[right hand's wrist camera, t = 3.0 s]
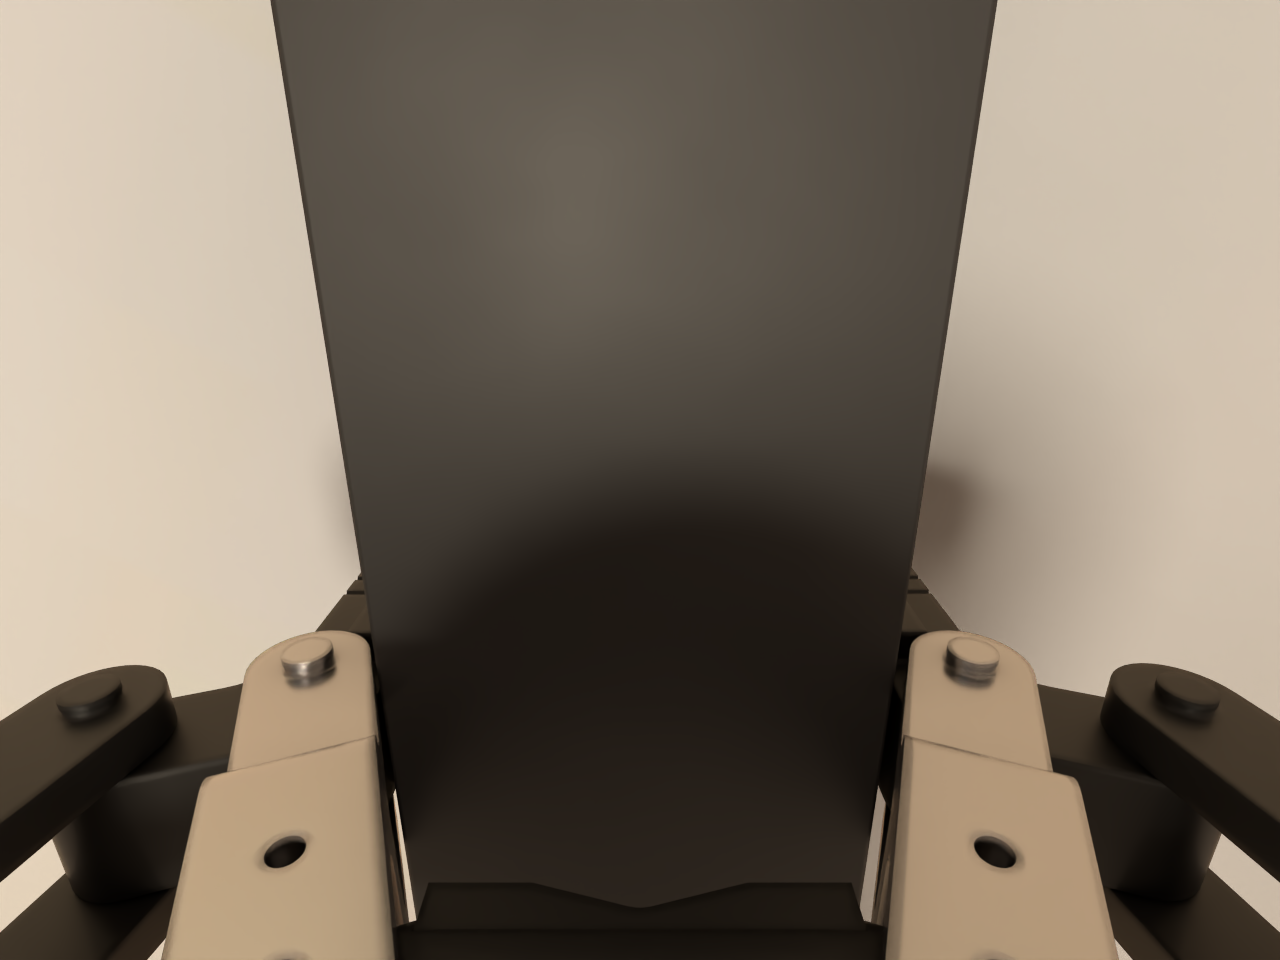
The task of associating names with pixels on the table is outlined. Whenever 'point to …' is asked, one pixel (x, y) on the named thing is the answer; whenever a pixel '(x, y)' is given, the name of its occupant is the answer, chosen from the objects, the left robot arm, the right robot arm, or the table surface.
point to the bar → (635, 410)
